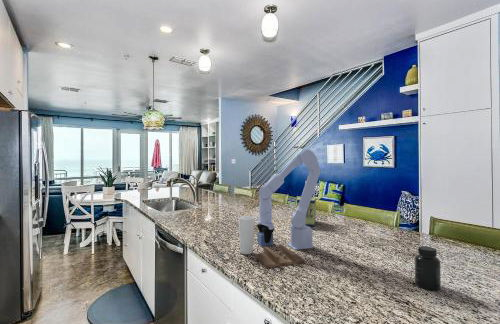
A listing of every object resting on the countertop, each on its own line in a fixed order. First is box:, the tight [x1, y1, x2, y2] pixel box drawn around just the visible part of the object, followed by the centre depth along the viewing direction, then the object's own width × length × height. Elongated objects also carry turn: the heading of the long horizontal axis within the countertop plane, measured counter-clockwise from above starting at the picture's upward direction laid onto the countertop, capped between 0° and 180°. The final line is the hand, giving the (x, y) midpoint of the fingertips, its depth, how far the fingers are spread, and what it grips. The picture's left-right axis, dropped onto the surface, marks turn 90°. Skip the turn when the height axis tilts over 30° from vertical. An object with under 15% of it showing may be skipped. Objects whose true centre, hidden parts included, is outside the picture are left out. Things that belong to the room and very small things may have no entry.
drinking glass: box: [238, 215, 256, 255], centre depth 113 cm, size 7×7×15 cm
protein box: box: [296, 195, 317, 228], centre depth 164 cm, size 10×16×16 cm
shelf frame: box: [254, 244, 306, 269], centre depth 106 cm, size 16×12×4 cm
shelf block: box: [257, 232, 274, 247], centre depth 125 cm, size 6×4×5 cm
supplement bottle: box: [414, 245, 442, 291], centre depth 85 cm, size 7×7×12 cm
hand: (265, 241), depth 125 cm, fingers closed on shelf block, 4 cm apart
